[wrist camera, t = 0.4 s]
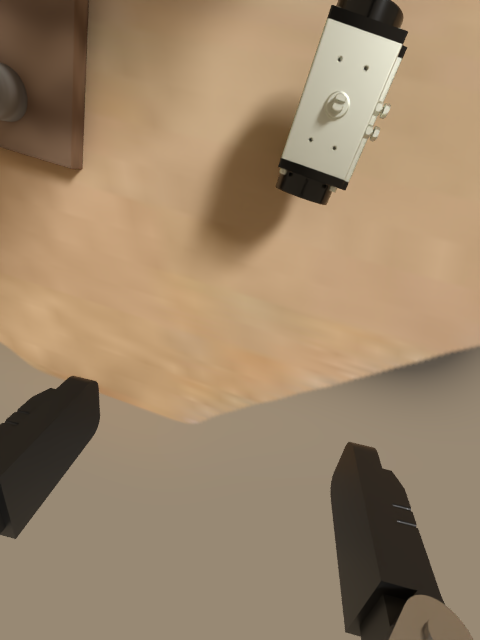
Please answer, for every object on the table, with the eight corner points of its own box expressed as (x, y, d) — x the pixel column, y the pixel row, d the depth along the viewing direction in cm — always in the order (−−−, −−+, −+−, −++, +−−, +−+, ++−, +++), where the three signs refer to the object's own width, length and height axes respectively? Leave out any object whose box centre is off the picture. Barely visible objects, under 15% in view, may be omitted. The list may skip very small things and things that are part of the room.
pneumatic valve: (277, 183, 33) (269, 189, 22) (325, 42, 27) (345, -42, 17) (328, 201, 33) (346, 215, 22) (385, 63, 27) (445, -6, 17)
